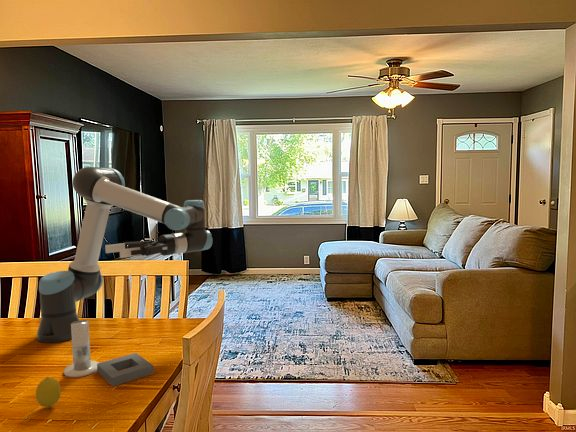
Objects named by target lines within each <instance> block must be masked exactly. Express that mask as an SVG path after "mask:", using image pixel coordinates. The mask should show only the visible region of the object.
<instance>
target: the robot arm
mask: <svg viewBox="0 0 576 432" xmlns="http://www.w3.org/2000/svg"><path fill="white" fill-rule="evenodd" d="M72 187H73V190H74V191H75V193H76V194H77V195H78V196H80V197H82V198H83V199H84V201H85V202H86V206H85V209H84V210H85V211H84V216H83V220H82V223H81V224H82V225H81V229H80V233H79V238H78V242H77V248H76V250H75V251H76V252H75V255H74V260H72V261H71V262H69V264H68V269H67V270H59V271H55V272H50V273H48V274H45V275H43V276H42V277H41V278H40V279H39V281H38V292H39V294H38V295H39V303H40V318H41V319H40V321H39V326H38V329H37V332H36V338H37V339H36V340H37V341H38V342H40V343H47V344H48V343H60V342H64V341H65V342H66V341H69V340H72V334H71V323H72V322H75V321H80V318H79V315H78V314H77V302H79V301H81V300H83V299H86V298H87V299H88V298H90V297H91V296H93V295H95V294H96V293H97V292H99V291H100V289H102V288H101V287H102V285H103V283H104V282H103V280H104V277H103V275H102V272H101V266H100V265H99V264H98V263H99V258H100V255H101V249H102V245H103V242H104V241H103V240H104V237H105V232H106V228H107V223H108V220H109V219H108V218H109V216H110V210H111V208H112V207H114V206H115V207H117V208H120V209H123V210H125V211H128V212H131V213H134V214H136V215H140V216H143V217H145V218H148V219H150V220H154V221H155V222H159V223H162V224H164V225H165V226H166V227H167V228H168V229H170V230H172V231H182V230H184V232H177V233H176V232H175V233H170V234H169V233H168V234H162V235H160V236H159V237H158V240H156V239H154V240H145V241H142V240H141V241H124V242H123V243H122V242H121V243H115V244H114V243H113V244H105V246H104V247H105V254H111V253H119V258H120V259H125V258H131V257H139V256H146V257H149V256H152V255H157V254H160V255H161V256H166V257H167V256H172V255H178V256H181V255H182V254H185V253H186V254H187V253H194V252H201V251H206V250H209V249H211V247H212V245H213V237H212V236H213V235H212V233H211V232H210V230H208V229H207V230H206V216H205V212H206V209H205V202H204V201H203V200H202V199H188V200H185V201H184V203H183V206H180V205H177V204H174V203H171V202H170V201H169V202H168V201H165V200H162V199H161V198H157V197H155V196H151V195H149V194H147V193H146V194H145V193H143V192H140V191H138V190H135V189H133V188H129V187H126V183H125V178H124V176H123V175H122V173H121V172H120V171H119V170H117V169H115V168H112V167H107V166H103V167H101V166H95V167H94V166H85V167H83V168H80V169H79V170H77V172H75V174H74V175H73V178H72Z"/></svg>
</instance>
